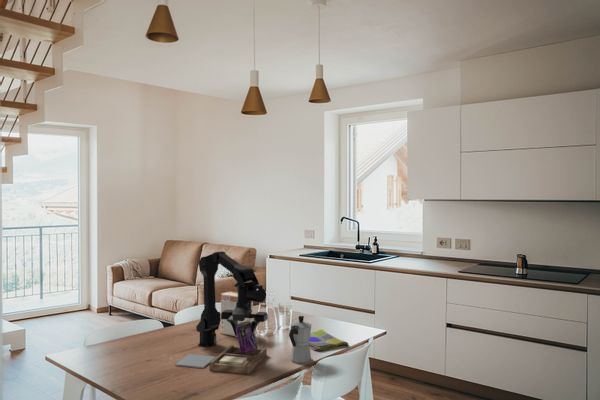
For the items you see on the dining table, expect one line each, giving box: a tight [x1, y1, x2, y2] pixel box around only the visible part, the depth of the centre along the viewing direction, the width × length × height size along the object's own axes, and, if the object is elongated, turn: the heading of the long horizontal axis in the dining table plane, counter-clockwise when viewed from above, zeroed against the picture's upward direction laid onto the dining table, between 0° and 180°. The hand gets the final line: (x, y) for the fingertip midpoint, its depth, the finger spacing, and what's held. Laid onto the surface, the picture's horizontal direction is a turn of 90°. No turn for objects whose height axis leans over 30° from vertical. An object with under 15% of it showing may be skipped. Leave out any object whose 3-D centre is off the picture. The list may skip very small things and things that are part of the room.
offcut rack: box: [209, 344, 268, 375], centre depth 191 cm, size 16×22×3 cm
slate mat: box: [174, 353, 217, 369], centre depth 191 cm, size 12×12×1 cm
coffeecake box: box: [220, 291, 254, 338], centre depth 229 cm, size 15×7×20 cm, turn 58°
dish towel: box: [308, 329, 349, 352], centre depth 219 cm, size 18×24×3 cm
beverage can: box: [236, 321, 259, 355], centre depth 196 cm, size 7×7×12 cm
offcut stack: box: [219, 356, 249, 366], centre depth 185 cm, size 11×6×4 cm, turn 77°
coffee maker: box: [288, 315, 312, 364], centre depth 193 cm, size 15×9×18 cm, turn 150°
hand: (244, 336), depth 196 cm, fingers closed on beverage can, 6 cm apart
